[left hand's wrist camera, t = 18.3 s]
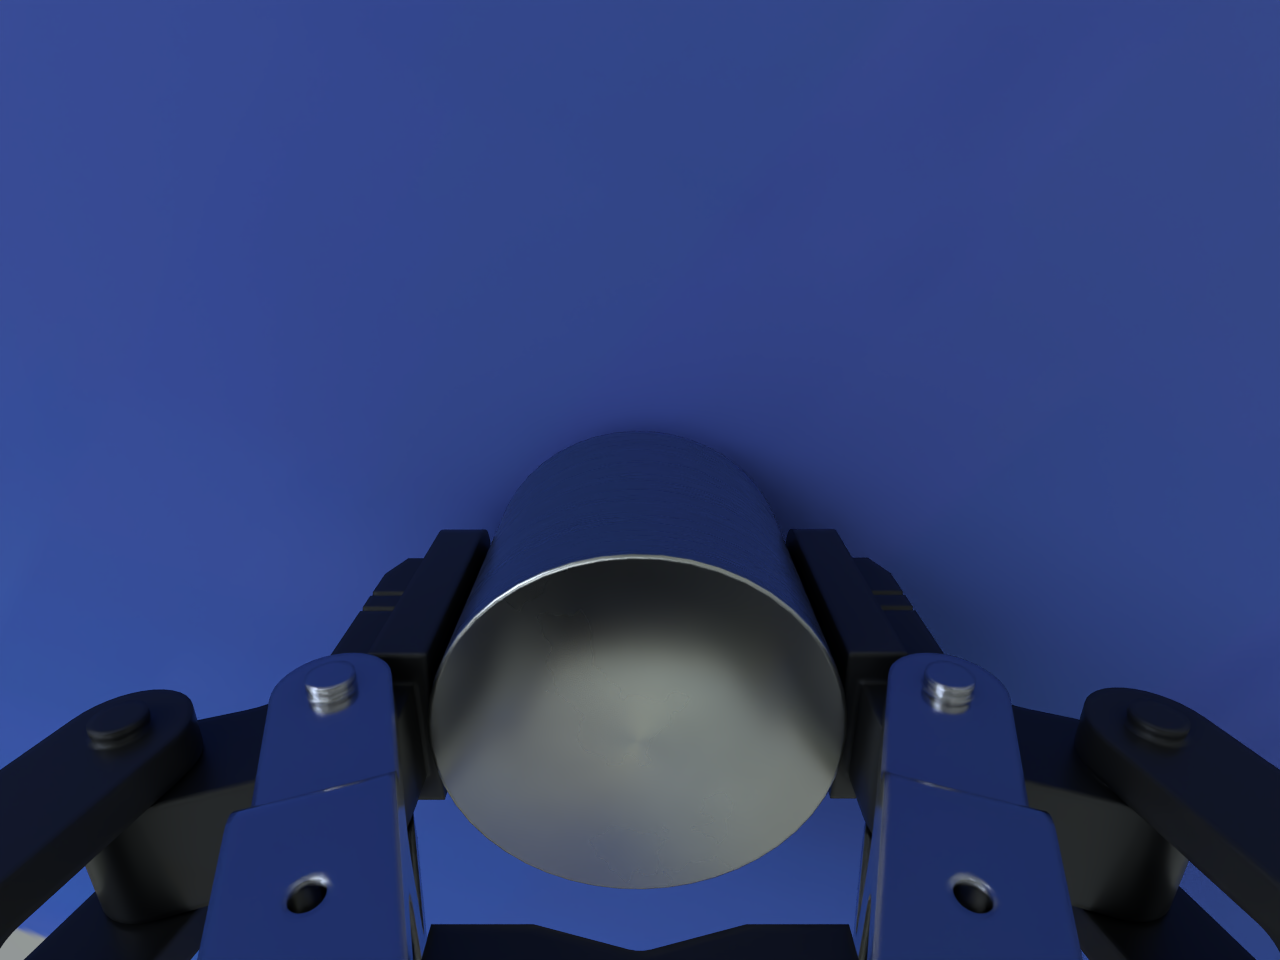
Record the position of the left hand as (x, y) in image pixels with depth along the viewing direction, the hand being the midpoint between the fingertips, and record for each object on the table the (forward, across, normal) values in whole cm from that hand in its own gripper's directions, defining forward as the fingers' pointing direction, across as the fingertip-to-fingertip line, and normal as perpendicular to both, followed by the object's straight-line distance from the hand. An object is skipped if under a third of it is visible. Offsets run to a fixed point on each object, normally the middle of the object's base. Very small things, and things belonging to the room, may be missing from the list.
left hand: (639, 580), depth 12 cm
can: (0, 0, 0) cm, 0 cm away
